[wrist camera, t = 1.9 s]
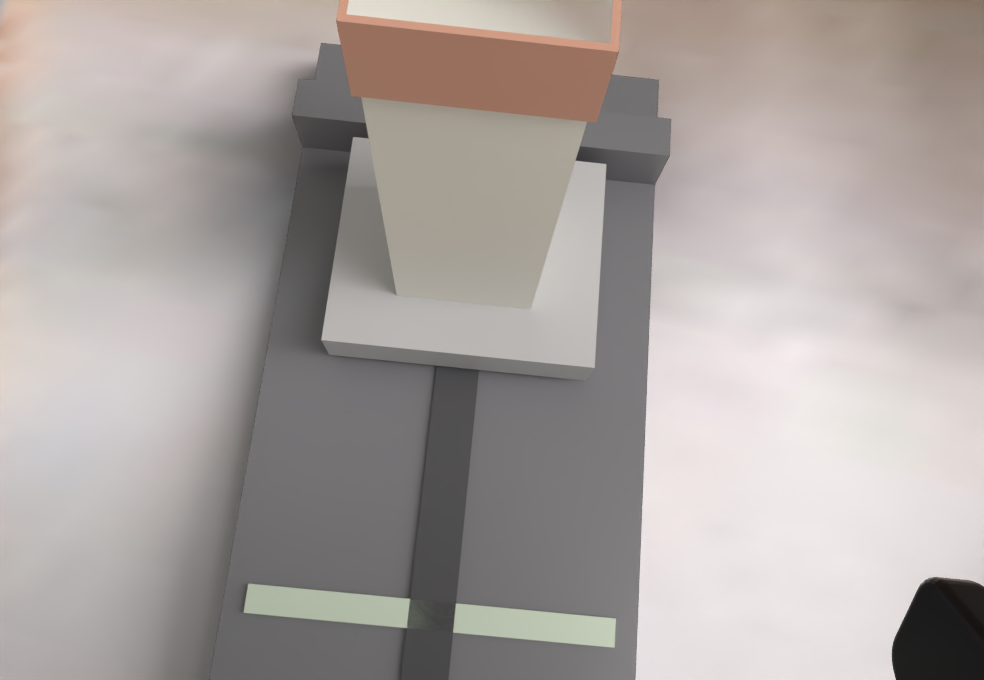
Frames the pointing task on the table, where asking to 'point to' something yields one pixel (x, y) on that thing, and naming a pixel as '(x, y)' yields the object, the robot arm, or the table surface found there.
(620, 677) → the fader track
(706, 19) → the table surface
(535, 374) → the lever
